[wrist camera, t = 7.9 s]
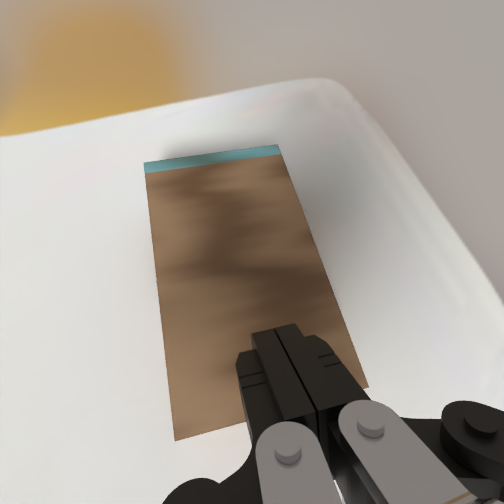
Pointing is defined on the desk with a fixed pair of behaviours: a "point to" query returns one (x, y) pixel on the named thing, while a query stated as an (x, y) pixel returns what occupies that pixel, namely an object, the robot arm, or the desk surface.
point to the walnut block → (232, 276)
